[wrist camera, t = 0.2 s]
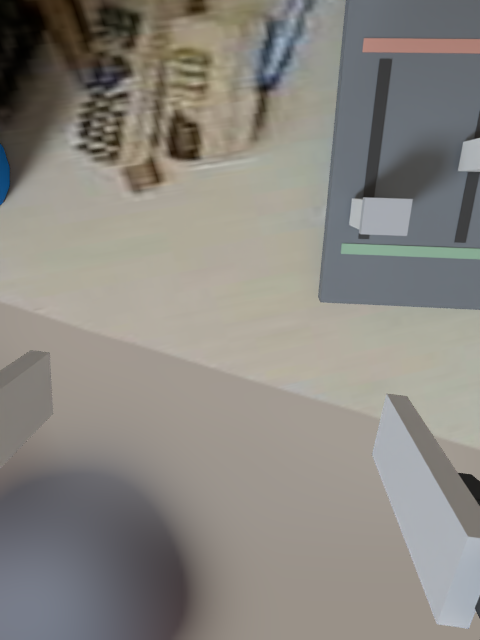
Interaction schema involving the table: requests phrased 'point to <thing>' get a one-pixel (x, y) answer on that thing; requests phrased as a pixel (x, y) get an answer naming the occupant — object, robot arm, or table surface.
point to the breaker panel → (406, 154)
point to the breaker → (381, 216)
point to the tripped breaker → (470, 156)
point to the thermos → (4, 175)
